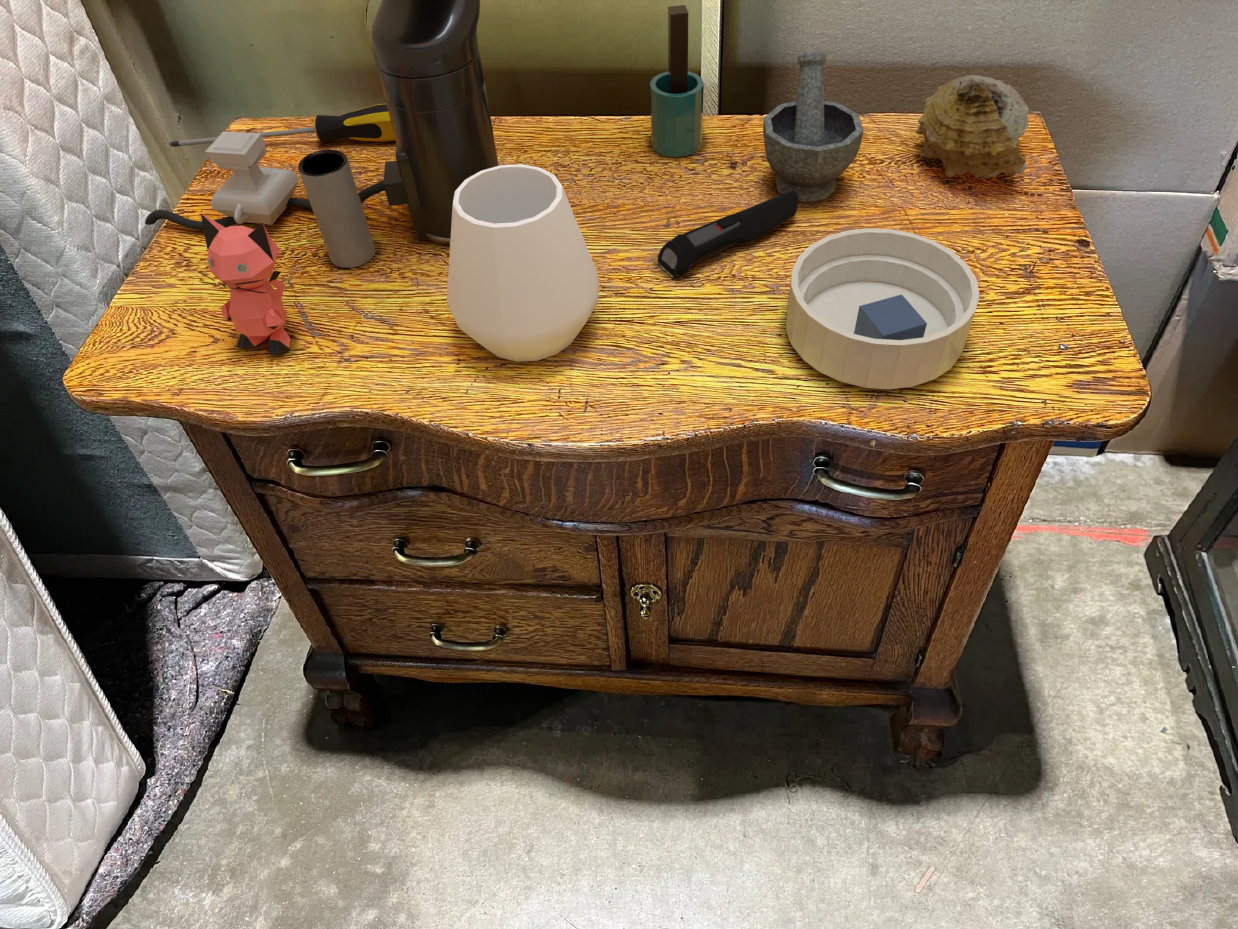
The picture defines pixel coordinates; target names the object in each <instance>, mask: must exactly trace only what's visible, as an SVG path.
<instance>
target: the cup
mask: <svg viewBox="0 0 1238 929" xmlns="http://www.w3.org/2000/svg"><path fill="white" fill-rule="evenodd" d="M599 279H600V278H599V273H598V270H597V268H596V266H595V263H594V261H593V258H592V255H591V253H590V251H589V249H588V246H587V244H586V241H585V238H584V235H583V234H582V231H581V229H580V226H579V223H578V222H577V219H576V216H575V214H574V212H573V208H572V207H571V204H570V202H569V199H568V197H567V194H566V192H565V189H564V187H563V184H562V183H561V181H560V180H559V179H558V178H557V176H556V175H555V174H553V173H551V172H549V171H548V170H546V169H543V168H541V167H539V166H533V165H529V164H528V165H527V164H522V163H521V164H520V163H518V164H505V165H504V164H500V165H499V166H497V167H493V168H489V169H486V170H482V171H480V172H478V173H476V174H474V175H473V176H471V177H469V178H467V179H466V180H464V182H463V183H462V184H461V185H460V186H459V187H458V188H457V190H456V191H455V194H454V200H453V208H452V224H451V239H450V245H449V256H448V272H447V285H446V286H447V288H446V305H447V307H448V310H449V311H450V314H451V315H452V317H453V320H454V322H455V324H456V326H457V327H458V329H459V330H460V331H462V332H463V333H464V334H465V335H467V336H468V337H469V338H471V339H472V340H474V341H475V342H476V343H478V344H479V345H480V346H482V347H483V348H484V349H486V350H487V351H489V352H490V353H491V354H492V355H494V356H496V357H497V358H500V359H504V360H508V361H512V362H517V363H519V362H539V361H541V360H543V359H546V358H550V357H553V356H556V355H558V354H560V353H561V352H562V351H563V350H565V349H566V348H567V347H569V346H570V345H572V344H573V342H574V341H575V339H576V338H577V336H578V335H579V333H580V332H581V330H582V328H583V327H584V326H585V325H586V323H587V322H588V320H589V318H590V317H591V315H592V313H593V312H594V310H595V309H596V307H597V306H598V303H599V298H600V285H599V284H600V280H599Z"/></svg>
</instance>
